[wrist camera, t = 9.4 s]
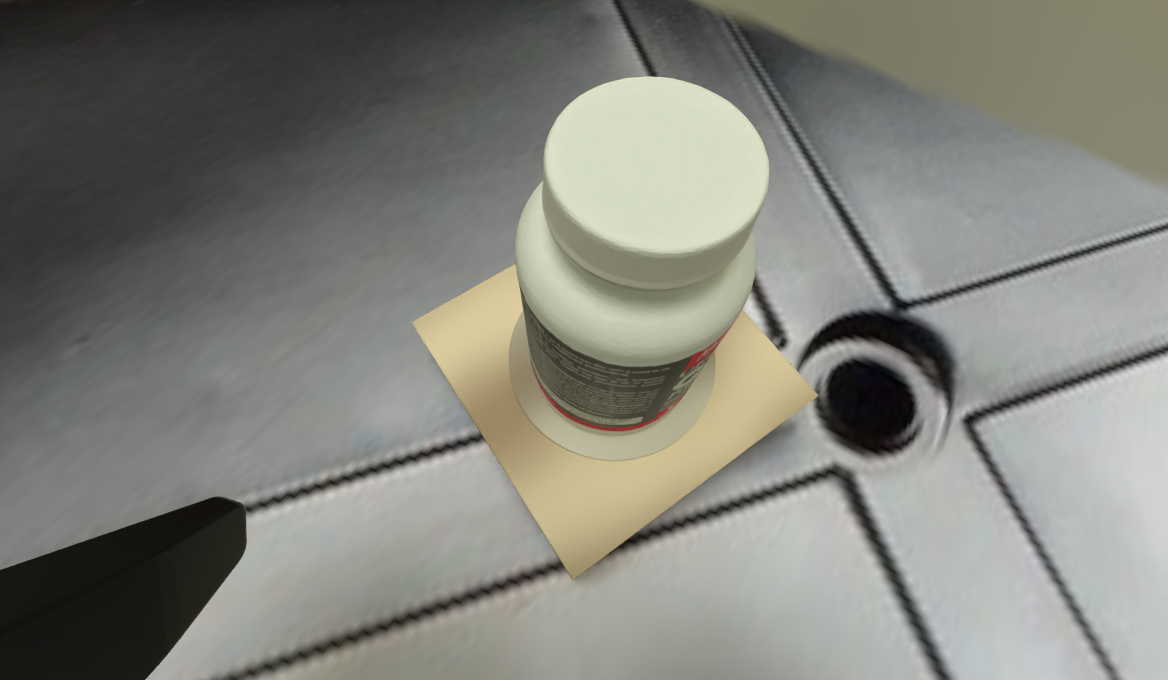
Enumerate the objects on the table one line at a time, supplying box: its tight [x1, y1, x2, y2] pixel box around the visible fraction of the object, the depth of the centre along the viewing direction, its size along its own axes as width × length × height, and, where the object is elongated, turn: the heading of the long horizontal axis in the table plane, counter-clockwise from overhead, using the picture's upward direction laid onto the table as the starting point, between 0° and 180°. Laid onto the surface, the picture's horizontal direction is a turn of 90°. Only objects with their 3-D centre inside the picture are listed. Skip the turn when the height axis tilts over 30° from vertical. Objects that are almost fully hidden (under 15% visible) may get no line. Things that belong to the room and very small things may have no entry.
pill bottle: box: [515, 77, 770, 435], centre depth 14 cm, size 5×5×10 cm
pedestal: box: [412, 264, 818, 580], centre depth 20 cm, size 10×10×3 cm
